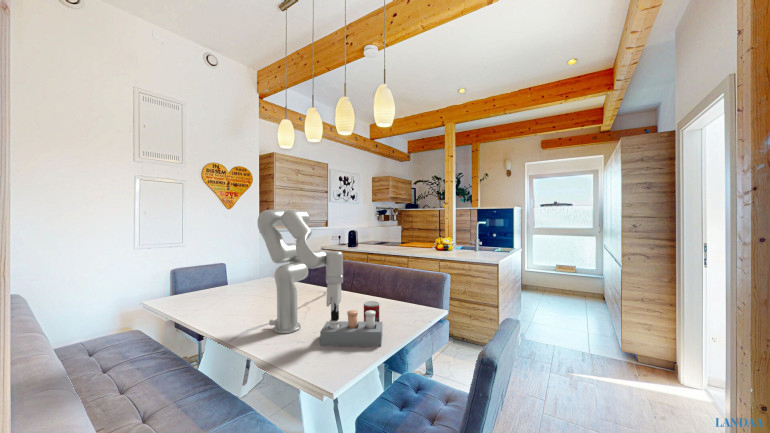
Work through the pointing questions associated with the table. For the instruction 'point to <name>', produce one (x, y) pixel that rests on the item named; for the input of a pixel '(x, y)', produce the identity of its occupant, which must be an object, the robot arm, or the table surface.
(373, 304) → the canned food
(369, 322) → the grey plug
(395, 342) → the table surface
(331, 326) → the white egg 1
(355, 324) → the plug terracotta
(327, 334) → the socket board
